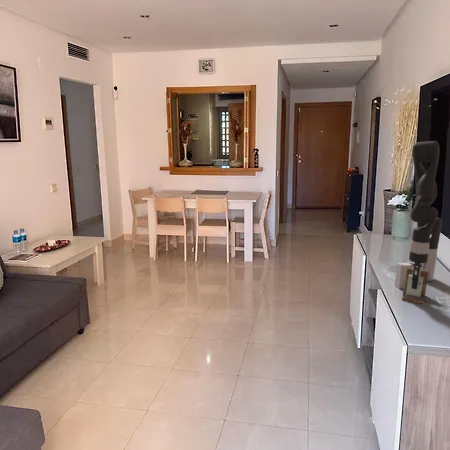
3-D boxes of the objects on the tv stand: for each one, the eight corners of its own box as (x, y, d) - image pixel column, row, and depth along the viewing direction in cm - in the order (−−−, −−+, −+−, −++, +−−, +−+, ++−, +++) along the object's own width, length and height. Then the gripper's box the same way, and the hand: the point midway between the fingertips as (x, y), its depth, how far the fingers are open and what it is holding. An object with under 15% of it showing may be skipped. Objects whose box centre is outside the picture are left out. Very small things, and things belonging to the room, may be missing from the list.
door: (406, 292, 188) (409, 274, 186) (420, 295, 186) (423, 277, 184) (405, 295, 186) (408, 276, 184) (420, 298, 183) (423, 279, 181)
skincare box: (405, 285, 205) (408, 262, 202) (410, 288, 200) (413, 265, 198) (394, 285, 204) (396, 262, 201) (398, 288, 200) (401, 265, 197)
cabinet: (404, 291, 197) (407, 267, 194) (425, 295, 192) (428, 270, 190) (401, 300, 186) (404, 274, 183) (423, 304, 182) (427, 278, 179)
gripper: (411, 246, 189) (406, 281, 193) (408, 253, 177) (404, 290, 181) (429, 248, 186) (424, 284, 189) (427, 256, 174) (422, 294, 178)
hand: (414, 287), depth 185 cm, fingers closed on door, 2 cm apart
